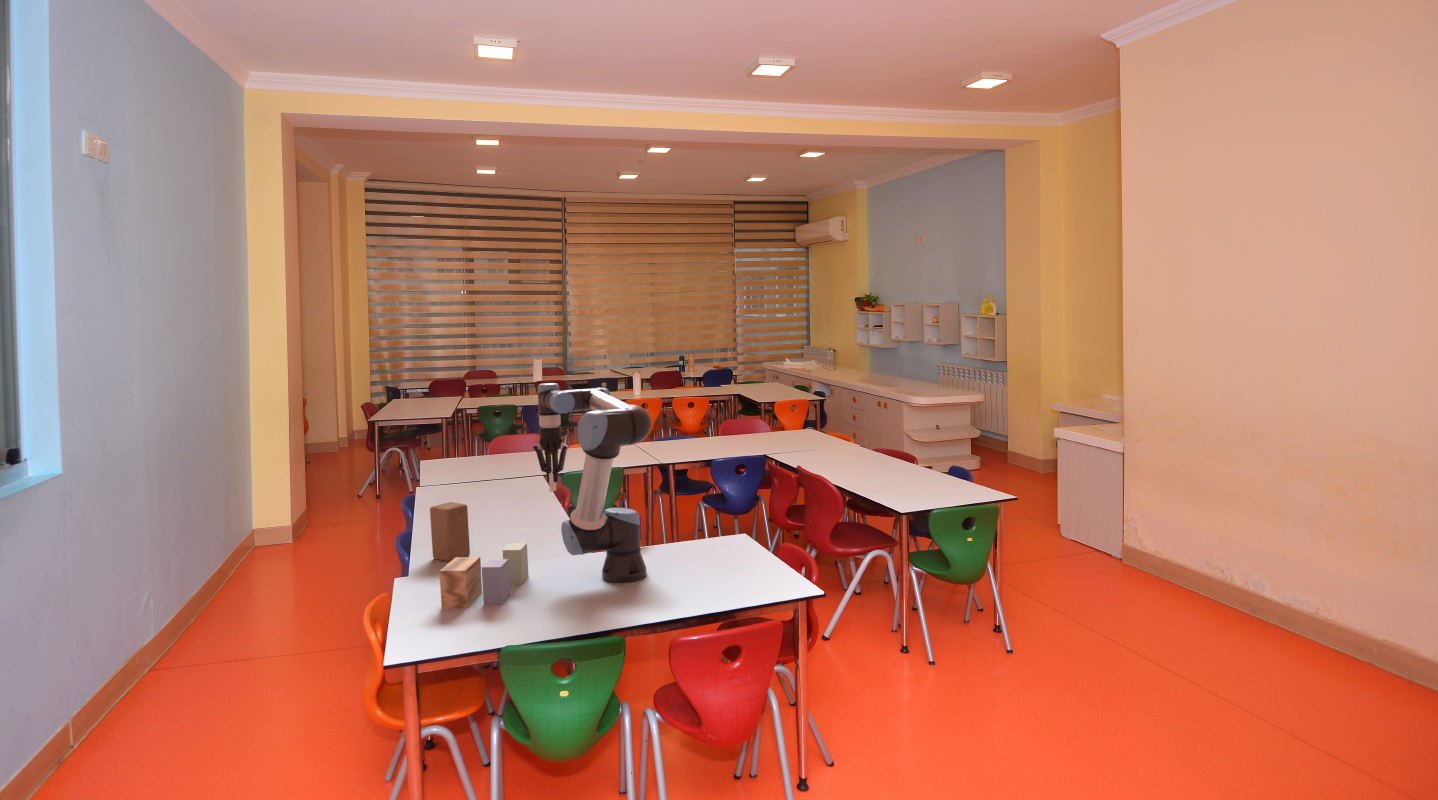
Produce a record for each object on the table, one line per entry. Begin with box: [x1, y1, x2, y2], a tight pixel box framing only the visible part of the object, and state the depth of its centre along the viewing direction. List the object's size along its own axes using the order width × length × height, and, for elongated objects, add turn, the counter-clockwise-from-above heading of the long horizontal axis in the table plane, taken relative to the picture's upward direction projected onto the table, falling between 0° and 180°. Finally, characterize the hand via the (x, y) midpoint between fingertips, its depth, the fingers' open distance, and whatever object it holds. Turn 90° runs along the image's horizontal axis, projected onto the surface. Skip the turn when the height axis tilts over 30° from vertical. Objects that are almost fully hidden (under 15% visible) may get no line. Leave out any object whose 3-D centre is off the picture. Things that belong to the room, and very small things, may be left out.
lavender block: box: [481, 558, 511, 606], centre depth 247 cm, size 6×8×12 cm
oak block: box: [438, 556, 483, 610], centre depth 248 cm, size 8×14×12 cm, turn 178°
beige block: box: [502, 542, 530, 586], centre depth 265 cm, size 6×8×12 cm
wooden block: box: [429, 501, 471, 563], centre depth 294 cm, size 10×10×20 cm
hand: (553, 490), depth 284 cm, fingers closed
